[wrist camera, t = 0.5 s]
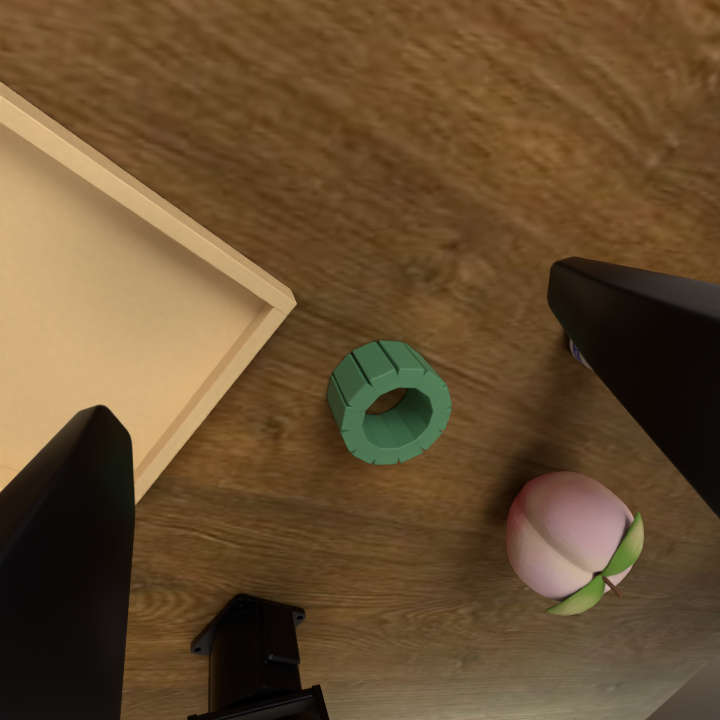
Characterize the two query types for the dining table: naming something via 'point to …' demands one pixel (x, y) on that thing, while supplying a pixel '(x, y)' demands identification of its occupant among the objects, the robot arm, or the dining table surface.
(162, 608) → the dining table surface
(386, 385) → the ring
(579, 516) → the decorative fruit
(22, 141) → the tray
